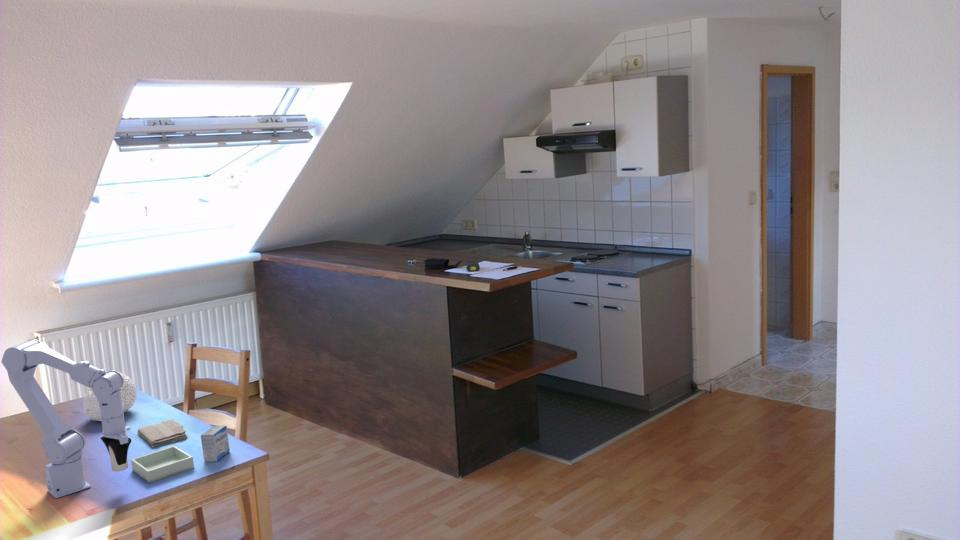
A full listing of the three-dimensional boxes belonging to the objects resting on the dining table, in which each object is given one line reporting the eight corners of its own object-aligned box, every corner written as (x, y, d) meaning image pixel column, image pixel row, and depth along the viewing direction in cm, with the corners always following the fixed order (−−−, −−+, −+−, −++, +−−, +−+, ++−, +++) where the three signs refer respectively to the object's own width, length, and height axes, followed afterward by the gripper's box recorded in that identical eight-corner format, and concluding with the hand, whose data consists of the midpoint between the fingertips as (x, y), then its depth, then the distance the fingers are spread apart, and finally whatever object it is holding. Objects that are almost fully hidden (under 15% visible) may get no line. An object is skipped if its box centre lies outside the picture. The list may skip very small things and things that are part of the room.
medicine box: (217, 462, 239) (213, 435, 237) (203, 461, 240) (200, 434, 238) (230, 451, 247) (227, 425, 245) (217, 451, 248) (213, 424, 246)
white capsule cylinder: (115, 472, 221) (111, 449, 219) (109, 468, 224) (106, 445, 222) (130, 468, 223) (127, 444, 222) (125, 463, 226) (121, 440, 225)
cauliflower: (94, 385, 295) (102, 356, 286) (141, 401, 299) (150, 373, 290) (70, 425, 279) (77, 396, 270) (119, 442, 283) (129, 413, 274)
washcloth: (153, 449, 253) (152, 440, 253) (136, 435, 267) (135, 426, 266) (190, 439, 260) (189, 430, 260) (172, 425, 274) (171, 416, 274)
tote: (149, 483, 227) (147, 471, 226) (132, 470, 237) (130, 459, 236) (194, 467, 236) (192, 456, 235) (176, 456, 245) (174, 445, 245)
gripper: (136, 417, 218) (143, 463, 221) (118, 406, 229) (124, 450, 231) (110, 424, 213) (116, 472, 216) (92, 412, 224) (99, 458, 226)
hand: (119, 461), depth 223 cm, fingers closed on white capsule cylinder, 4 cm apart
